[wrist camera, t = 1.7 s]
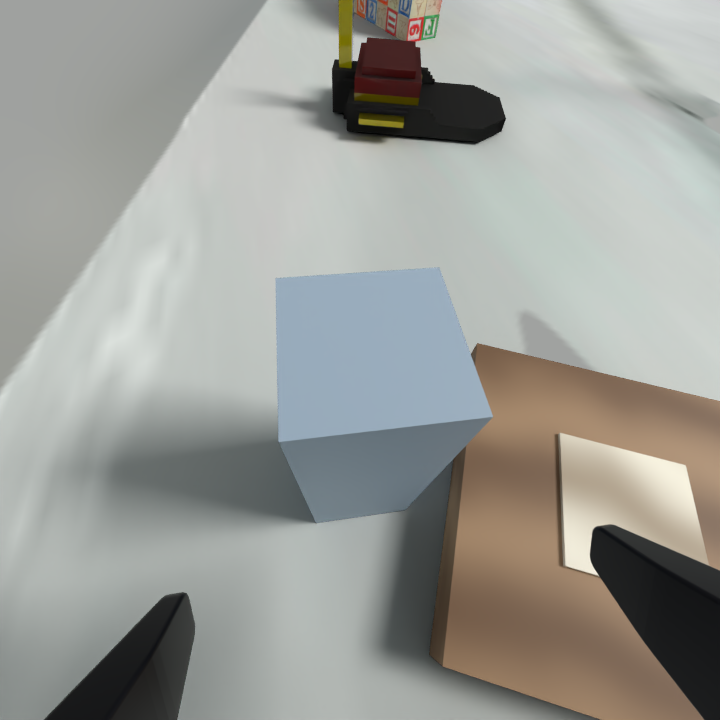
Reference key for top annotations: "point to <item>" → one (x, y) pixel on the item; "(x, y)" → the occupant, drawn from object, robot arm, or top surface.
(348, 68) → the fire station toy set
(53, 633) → the top surface
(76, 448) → the top surface
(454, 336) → the column block
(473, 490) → the base board
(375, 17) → the stack of blocks
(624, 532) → the robot arm
